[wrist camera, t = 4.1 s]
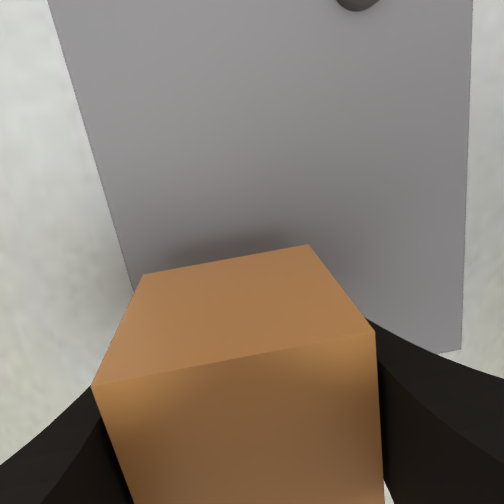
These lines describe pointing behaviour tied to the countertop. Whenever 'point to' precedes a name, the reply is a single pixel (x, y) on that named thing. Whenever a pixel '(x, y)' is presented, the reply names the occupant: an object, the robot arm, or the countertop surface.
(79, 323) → the countertop surface
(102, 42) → the board
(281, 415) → the wooden cube
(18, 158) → the countertop surface
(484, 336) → the countertop surface
